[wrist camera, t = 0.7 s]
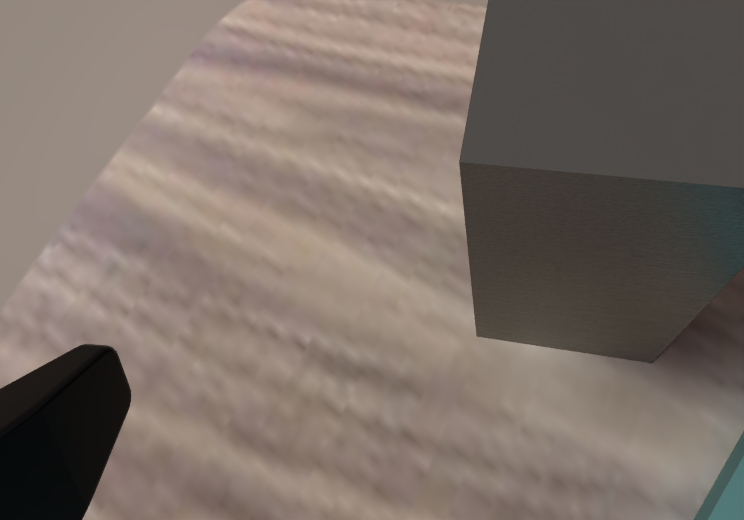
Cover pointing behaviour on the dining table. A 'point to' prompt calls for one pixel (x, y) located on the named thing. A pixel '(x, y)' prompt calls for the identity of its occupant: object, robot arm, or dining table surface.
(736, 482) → the dock plate
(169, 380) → the dining table surface
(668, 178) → the lock block
